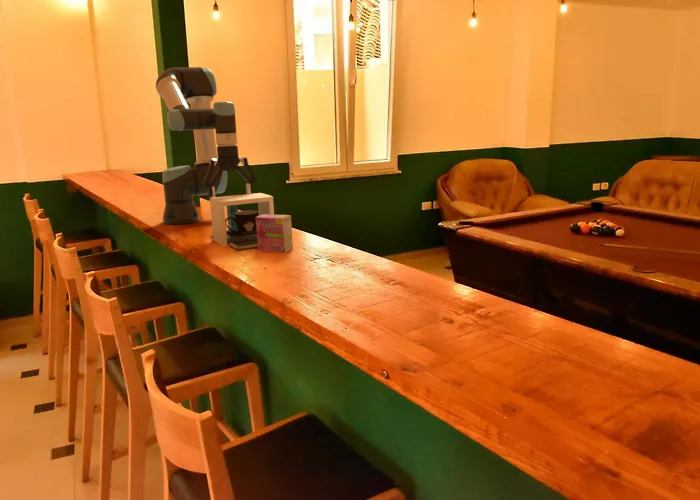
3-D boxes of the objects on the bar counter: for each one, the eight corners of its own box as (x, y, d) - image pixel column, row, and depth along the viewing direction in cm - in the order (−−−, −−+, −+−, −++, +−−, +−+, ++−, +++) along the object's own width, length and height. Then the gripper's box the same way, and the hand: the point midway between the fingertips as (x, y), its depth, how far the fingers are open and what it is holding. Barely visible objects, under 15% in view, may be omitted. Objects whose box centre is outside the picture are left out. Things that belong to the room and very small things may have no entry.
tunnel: (213, 240, 203) (209, 197, 199) (263, 233, 212) (261, 192, 208) (223, 246, 193) (219, 202, 189) (275, 239, 202) (273, 196, 198)
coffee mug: (263, 236, 206) (261, 210, 204) (257, 242, 198) (255, 214, 195) (232, 237, 207) (230, 210, 205) (225, 242, 199) (222, 214, 197)
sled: (213, 235, 211) (210, 200, 208) (251, 229, 218) (249, 196, 215) (229, 245, 194) (226, 208, 191) (270, 239, 201) (267, 203, 198)
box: (257, 251, 186) (255, 216, 184) (266, 247, 192) (264, 213, 189) (285, 253, 183) (283, 218, 180) (293, 249, 188) (291, 214, 185)
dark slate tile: (229, 246, 193) (229, 243, 192) (272, 240, 200) (272, 237, 200) (236, 251, 186) (236, 247, 185) (281, 244, 193) (281, 241, 193)
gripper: (195, 147, 196) (201, 207, 201) (262, 143, 207) (266, 200, 212) (190, 146, 202) (196, 205, 207) (256, 143, 214) (260, 198, 219)
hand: (232, 202), depth 210 cm, fingers open, 13 cm apart
